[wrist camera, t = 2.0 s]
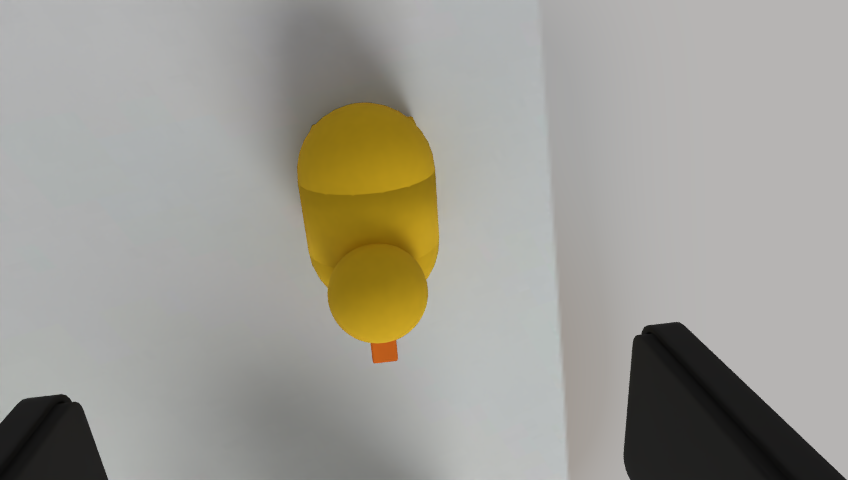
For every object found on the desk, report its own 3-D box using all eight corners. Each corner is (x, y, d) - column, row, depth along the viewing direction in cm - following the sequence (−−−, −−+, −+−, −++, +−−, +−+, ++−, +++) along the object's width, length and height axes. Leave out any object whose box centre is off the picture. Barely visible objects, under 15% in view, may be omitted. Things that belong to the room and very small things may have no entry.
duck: (295, 96, 20) (266, 139, 14) (422, 86, 20) (449, 124, 14) (325, 292, 23) (312, 400, 17) (434, 281, 23) (461, 382, 17)
